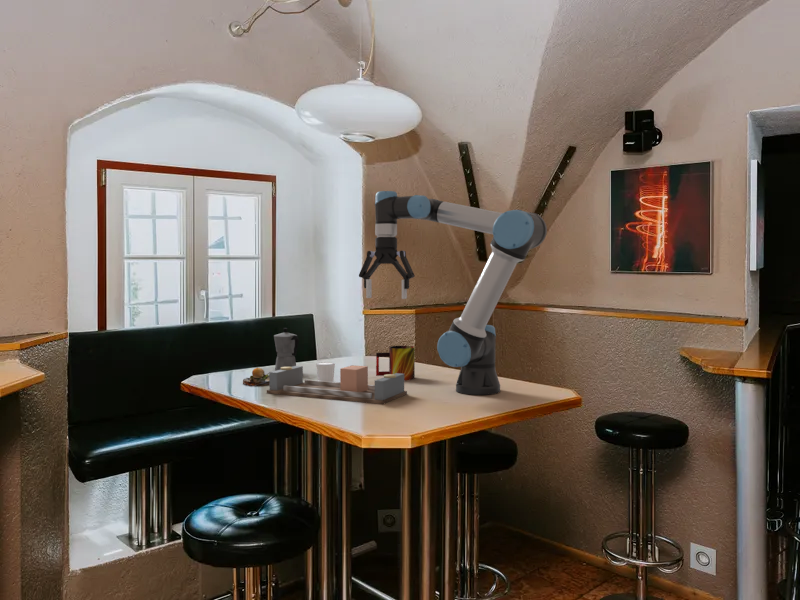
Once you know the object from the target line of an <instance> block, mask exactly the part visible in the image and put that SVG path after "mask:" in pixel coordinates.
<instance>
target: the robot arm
mask: <svg viewBox="0 0 800 600" xmlns="http://www.w3.org/2000/svg"><path fill="white" fill-rule="evenodd" d="M374 202H375V203H374V208H375V212H374V214H375V221H374V222H375V228H374V230H375V231H374V233H375V234H374V235H375V239H374V241H375V247H374V248H375V251H373V250H367V252H366V257H365V260H364V262H363V265H362V267H361V269H360V271H359V274H358V277H359V278H361V279H363V288H364V289H365V297H366V299H371V298H373V295H372V294H373V292H372V286H373V285H372V283H373V282H372V281H373V279H371V277H372V276H373V275H374V273H375V272H376V270H377V268H378V267H379V266H380V265H383V264H384V265H386V264H387V265H389V264H390V265H391V264H392V265H393V267H394V268H395V269H396V270H397V272H398V274H400V276H401V277H402V278H403V279H401V300H406V299H407V298H408V290H409V289H410V280H411V279H413V278H415V273H414V271H413V269H412V267H411V265H410V262H409V260H408V258H407V252H406V250H399V251H398V238H397V236H398V220H401V219H403V220H405V219H406V220H407V219H409V220H411V219H413V220H423V221H430V222H434V223H435V222H436V223H439V224H444V225H449V226H453V227H458V228H463V229H467V230H470V231H471V230H472V231H475V232H476V231H477V232H480V233H485V234H490V235H493V237H492V239H491V242H490V244H489V245H490V248H491V253H490V254H489V257H488V259H487V260H486V264H485V265H484V267H483V270H482V272H481V274H480V275H479V277H478V280H477V282H476V284H475V286H474V288H473V290H472V292H471V294H470V297H469V299H467V300H468V301H467V302H466V304H465V307H464V309H463V311H462V312H461V315H460V317H456V318H454V319H453V321H452V323H451V325H450V327H449V329H448V330H447V331H446V332H444V333H443V334H442V335H440V337H439V338H438V341H437V346H436V348H437V353H438V355H439V357H440V360H441V361H442V362H443V363H444V364H445V365H447V366H450V367H453V368H460V371H459V374H458V377H457V379H456V383H455V391H456V392H458V393H460V394H465V395H474V396H475V395H476V396H480V395H481V396H483V395H484V396H487V395H494V394H495V393H496V394H498V392H499V393H500V392H501V384H500V381H499V380H500V379H499V377H498V373H497V371H496V339H497V335H496V327H495V326H494V325H493V324H492V325H491V324H488V322H489V321H490V318H491V317H492V315H493V313H494V310H495V308H496V307H497V304H498V303H499V301H500V299H501V296H502V294H503V292H504V290H505V288H506V287H507V285H508V282H509V280H510V278H511V277H512V274H513V272H514V271H515V268H516V267H517V265H518V263H520V262H523V261H525V259H526V258H527V255H528V253H529V251H530V250H531V249H535V248H537V247H539V246H540V245H541V244H542V243H543V242H544V240H545V239H546V237H547V232H548V227H547V223H546V221H545V220H544V218H542V216H540V215H539V214H538V213H535V212H529V211H524V210H522V209H512V210H511V209H510V210H507V211H504V212H499V211H493V210H488V209H486V208H485V209H483V208H478V207H474V206H473V207H472V206H469V205H463V204H460V203H459V204H458V203H454V202H449V201H443V200H439V199H436V198H428V197H427V195H421V194H420V195H418V194H415V195H406V196H405V195H404V196H398V193H397V192H396V191H395V190H380V191H377V192H376V193H375V201H374ZM374 257H375V260H374V261H373V258H374ZM397 257H398V258H400V261H401V263H402V265H403V266H402V265H401V264H400V262H399V260H398V259H397ZM372 261H373V263H372ZM371 263H372V265H371ZM370 265H371V266H370ZM403 267H404V268H403Z"/></svg>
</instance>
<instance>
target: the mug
mask: <svg viewBox="0 0 800 600" xmlns="http://www.w3.org/2000/svg"><path fill="white" fill-rule="evenodd" d="M388 348H389V350H388V351H389V352H376V353H375V354H376V355H375V356H376V357H375V358H376V359H375V364H376V365H375V377H379V376H380V377H382V376H383V377H384V375H386V374H395V373H401V374H404V381H412V380H414V379H415V378H416V377H415V373H416V372H415V359H416V358H415V351H416V350H415V346H414V345H390V346H389V347H388ZM380 358H388V359H389V361H388V362H389V365H388V366H389V367H388V369H389V370H388V371H387V370H386V371H383V370H382V371H380Z"/></svg>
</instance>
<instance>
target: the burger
mask: <svg viewBox="0 0 800 600" xmlns="http://www.w3.org/2000/svg"><path fill="white" fill-rule="evenodd" d="M242 384H244V385H246V386H247V385H249V387H250V386H252V387H264V386H270V385H269V372H268V373H267V374H266V373H265V370H264V369H263V368H262V367H255V368H254V369H253V370H252V372H251V375H250V376H249V377H246V378H243V380H242Z"/></svg>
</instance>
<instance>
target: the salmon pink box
mask: <svg viewBox="0 0 800 600" xmlns="http://www.w3.org/2000/svg"><path fill="white" fill-rule="evenodd" d="M368 368H369V367H368V365H366V366H365V365H348V366H345V367H341V368H340V371H339V372H340V376H339V377H340V379H339V381H340V390H341V391H353V392H364V391H367V390H368V385H369V371H368V370H369V369H368Z"/></svg>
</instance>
